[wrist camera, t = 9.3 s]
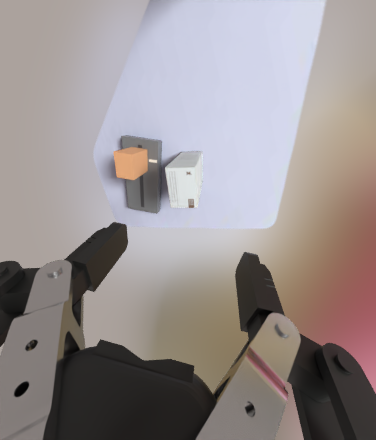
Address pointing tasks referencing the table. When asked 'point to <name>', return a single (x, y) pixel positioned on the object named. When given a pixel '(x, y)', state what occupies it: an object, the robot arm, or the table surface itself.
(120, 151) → the fader tab
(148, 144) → the fader console
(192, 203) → the skincare box
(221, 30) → the table surface
